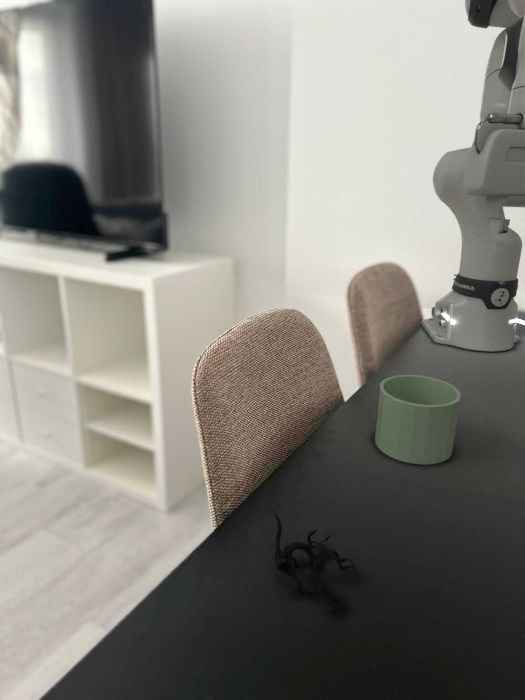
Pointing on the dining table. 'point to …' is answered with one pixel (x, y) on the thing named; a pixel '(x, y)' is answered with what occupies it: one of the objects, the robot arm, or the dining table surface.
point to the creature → (315, 560)
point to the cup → (417, 419)
